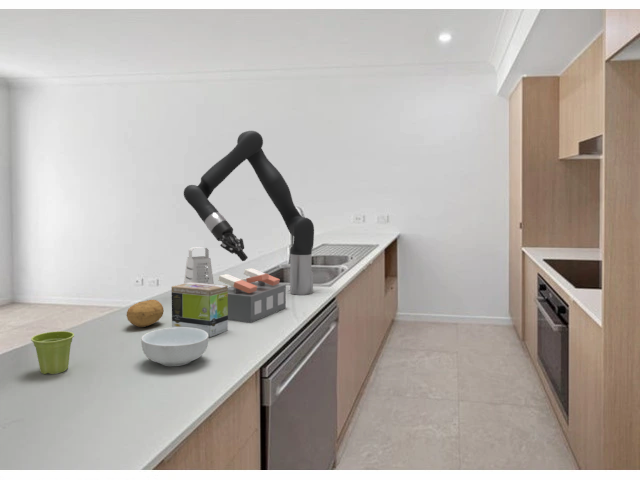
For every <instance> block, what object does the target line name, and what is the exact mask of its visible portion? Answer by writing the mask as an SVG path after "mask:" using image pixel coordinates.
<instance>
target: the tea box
mask: <svg viewBox="0 0 640 480" xmlns="http://www.w3.org/2000/svg"><path fill="white" fill-rule="evenodd" d="M228 287H229V285H228V284H215V283H214V284H205V283H194V282H190V283H185V284H184V283H181V284H177V285H172V286H171V328H173V327H189V328H197V329H201V330H204V331H206V332H207V333H208V338H210V337H214V336H217V335H219V334H222V333H225V332H226V331H228V329H229V320H228Z"/></svg>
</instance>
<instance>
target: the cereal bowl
mask: <svg viewBox="0 0 640 480" xmlns="http://www.w3.org/2000/svg"><path fill="white" fill-rule="evenodd" d="M140 340H141V341H140V342H141V347H142V348H141V349H142V351H143V354H144V355H145V357H146V358H148V360H151V361H153V362H155V363H158V364H161V365H162V366H165V367H179V366H184V365H188V364H190V363H191V362H193V361H195V360H197V359H199V358H200V357H202V355H204V353H205V352H206V351H207V348H208V347H209V345H208V344H209V337H208V333H207V332H206V331H204V330H201V329H197V328H189V327H173V328H172V327H165V328H159V329H155V330H152V331H149V332H147V333H145V334H143V335H142V336H141V339H140Z"/></svg>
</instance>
